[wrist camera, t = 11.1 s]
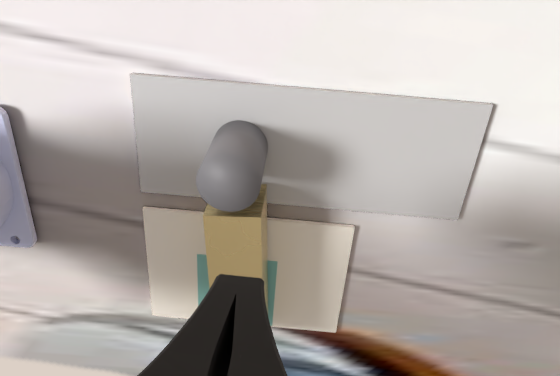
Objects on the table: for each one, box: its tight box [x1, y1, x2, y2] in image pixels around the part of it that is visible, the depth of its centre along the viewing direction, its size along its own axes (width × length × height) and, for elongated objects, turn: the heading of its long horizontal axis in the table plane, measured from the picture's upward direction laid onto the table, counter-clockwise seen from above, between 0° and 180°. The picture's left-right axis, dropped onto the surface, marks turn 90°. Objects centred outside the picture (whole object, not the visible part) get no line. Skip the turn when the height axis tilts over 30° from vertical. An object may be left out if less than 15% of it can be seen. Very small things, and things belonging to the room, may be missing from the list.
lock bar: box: [203, 184, 268, 313], centre depth 23 cm, size 9×2×3 cm, turn 0°
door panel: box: [130, 73, 493, 333], centre depth 22 cm, size 16×14×4 cm
